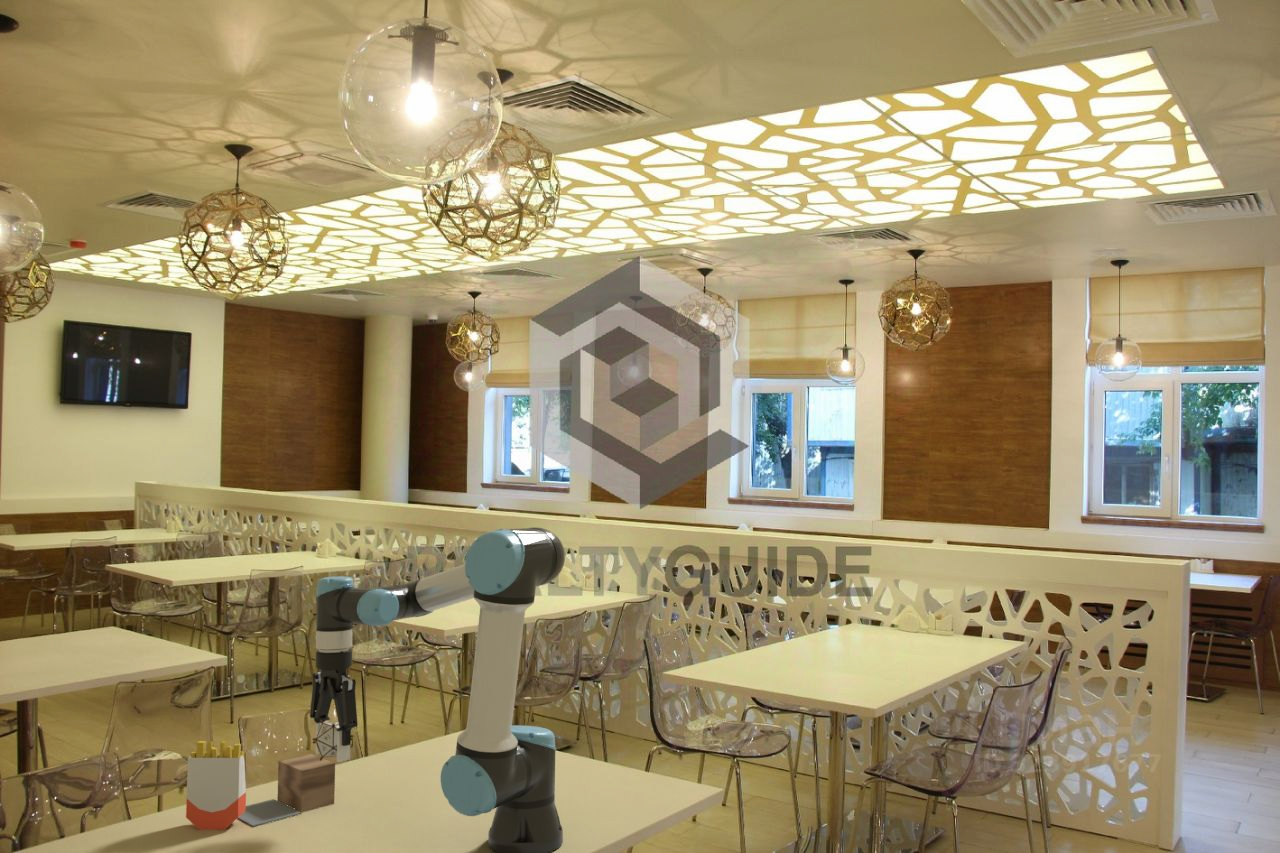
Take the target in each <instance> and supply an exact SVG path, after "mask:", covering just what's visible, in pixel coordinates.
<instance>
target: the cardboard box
mask: <svg viewBox="0 0 1280 853" xmlns="http://www.w3.org/2000/svg"><path fill="white" fill-rule="evenodd" d="M320 758H321V757H320V756H318V755H316V754H313V753H309V754H307V753H306V754H303V755H300V756H294V757H291V758H285V759H281V760H278V761H277V763H278V767H277V769H278V770H277V801H279V802H281V803H283V804H286V805H288V806H290V807H292V808H295V810H296V809H297V811H299V812H300V811H301V813H304V812H303V811H305V812H307V811H311V809H312V810H315V808H316V809H320V808H323V807H327V806H330V805H329V804H331V805H334V804H335V791H336V790H335V787H336V786H335V785H336V784H335V783H336V763H335V762H334V761H331V760H328V759H325V758H323V759H322V760H321V761H320ZM326 805H327V806H326ZM319 807H320V808H319Z"/></svg>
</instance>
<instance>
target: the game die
mask: <svg viewBox="0 0 1280 853" xmlns="http://www.w3.org/2000/svg"><path fill="white" fill-rule="evenodd" d="M320 722H321V723H322V725H321V727H320V730H319V732H318V735H317V737H316V736H315V737H313V738H312V739H311V740H312V742H311V743H312V744H315V746H316V745H317V747H318V749H319V752H320V754H319V755H320V756H321V757H320V761H321V760H322V759H324V758H333V757H337V729H338V728H340V727H339V722H338V721H329V723H323V721H322V720H320ZM354 737H355V735H353V734H351V742H352V741H353V740H354Z"/></svg>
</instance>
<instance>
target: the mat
mask: <svg viewBox="0 0 1280 853" xmlns="http://www.w3.org/2000/svg"><path fill="white" fill-rule="evenodd" d="M298 814H300V815H302V814H303V812H300V811H298V810H296V809H293V808H291V807H289V806H287V805H285V804H283V803H281V802H279V801H278V800H276V799H275V798H272V799H268V800H265V801H260V802H256V803H253V804H248V805H246V811H245V812H244V813H243V814H241V815H240V816H239V817H238V819H237V820H240V821H241V822H243V823H245V824H246V825H248V824H249V826H251V827H252V828H255V827H258V825H259V826H263V825H265V824H270V823H273V822H272V821H274V822H277V821H280V820H279V819H281V820H284V819H283V818H285V819H287V818H286V817H289V818H291V817H290V816H292V817H295V815H296V816H298ZM276 820H277V821H276ZM269 822H270V823H269Z"/></svg>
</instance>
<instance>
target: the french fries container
mask: <svg viewBox="0 0 1280 853" xmlns="http://www.w3.org/2000/svg"><path fill="white" fill-rule="evenodd" d="M213 743H214V741H208V742H207V741H206V740H199V741H197V743H196V744H197V745H196V749H195V751H192V752H191V753H190V755H189V756H188V757H187V774H186V805H185V806H186V807H185V810H186V812H185V818H186V819H187V820H188V821H190V823H191V824H192V825H193V826H195V828H196V829H198V830H226V829H227V828H228V827H230V825H231V824H232V823H234V822H235V821H236V820H238V819H237V818H238V817H239V816H240V815H241V814H243V813H244V812H245V811H246V806H247V805H246V802H247V787H246V786H247V783H246V768H245V767H246V765H245V764H246V763H245V750H244V751H243V750H242V743H235V744H233V745H232V746H230V745H229V746H227V741H224V740H223V741H221V742H220V744H219V754H218V747H215V746H213V745H214V744H213Z"/></svg>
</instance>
